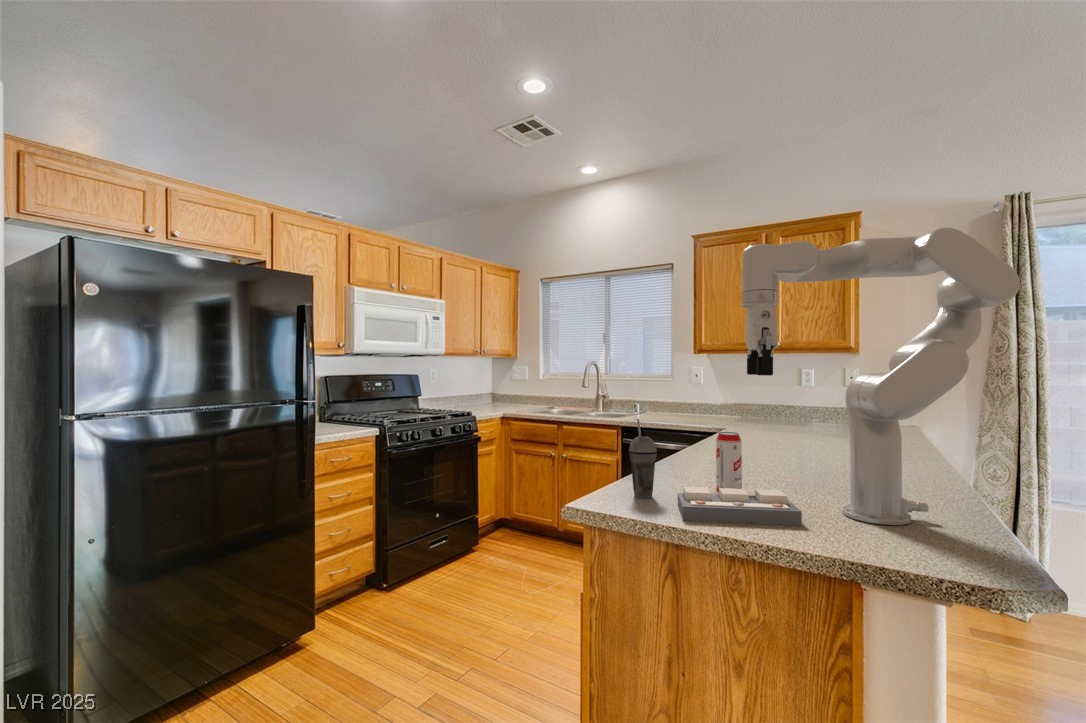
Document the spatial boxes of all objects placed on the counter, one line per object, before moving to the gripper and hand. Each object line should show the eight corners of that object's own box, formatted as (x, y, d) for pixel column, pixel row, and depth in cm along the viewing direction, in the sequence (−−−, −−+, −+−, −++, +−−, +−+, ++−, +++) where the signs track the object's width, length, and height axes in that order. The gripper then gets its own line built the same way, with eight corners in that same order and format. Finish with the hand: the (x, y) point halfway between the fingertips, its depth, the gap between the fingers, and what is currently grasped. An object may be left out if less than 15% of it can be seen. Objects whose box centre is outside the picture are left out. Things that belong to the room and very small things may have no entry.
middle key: (743, 501, 116) (743, 488, 116) (748, 508, 111) (748, 494, 111) (719, 500, 117) (718, 487, 117) (723, 507, 112) (723, 493, 112)
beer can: (744, 493, 130) (743, 432, 131) (739, 499, 125) (738, 435, 125) (719, 490, 134) (719, 431, 134) (713, 496, 129) (713, 433, 129)
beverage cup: (660, 500, 125) (659, 420, 125) (631, 500, 125) (630, 420, 125) (654, 492, 132) (653, 417, 132) (626, 492, 132) (626, 417, 132)
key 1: (707, 500, 118) (707, 487, 118) (711, 506, 112) (711, 493, 112) (683, 499, 119) (683, 486, 119) (686, 505, 113) (686, 492, 113)
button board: (784, 509, 116) (784, 494, 116) (801, 525, 104) (801, 509, 104) (677, 505, 120) (677, 490, 120) (682, 520, 108) (682, 504, 108)
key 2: (779, 503, 115) (779, 490, 115) (787, 509, 110) (787, 496, 110) (755, 502, 116) (755, 489, 116) (761, 508, 111) (760, 495, 111)
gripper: (789, 294, 105) (788, 375, 105) (767, 304, 122) (766, 374, 122) (751, 295, 106) (750, 375, 106) (735, 304, 123) (734, 374, 123)
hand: (759, 374), depth 114 cm, fingers open, 9 cm apart
